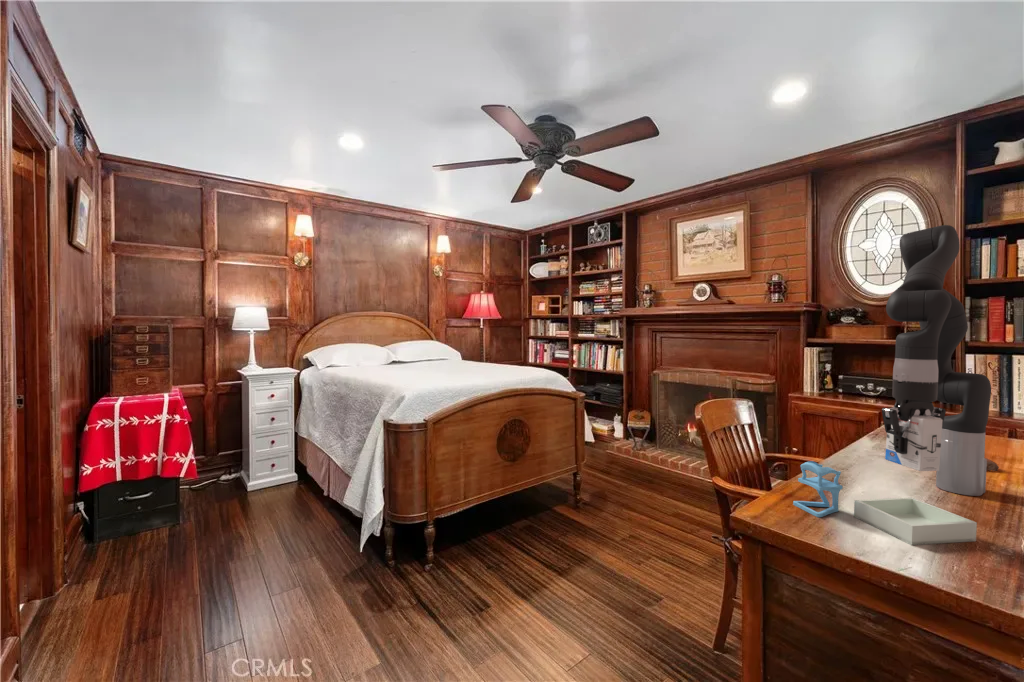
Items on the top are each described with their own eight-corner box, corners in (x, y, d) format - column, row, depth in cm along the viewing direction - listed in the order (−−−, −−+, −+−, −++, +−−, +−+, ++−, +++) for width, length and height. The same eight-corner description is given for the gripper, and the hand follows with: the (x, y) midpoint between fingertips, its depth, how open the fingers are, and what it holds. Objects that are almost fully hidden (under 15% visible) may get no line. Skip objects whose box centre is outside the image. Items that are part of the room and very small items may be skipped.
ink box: (883, 459, 103) (885, 410, 103) (903, 459, 103) (905, 410, 103) (920, 471, 94) (922, 418, 94) (941, 471, 95) (943, 418, 94)
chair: (847, 515, 106) (849, 466, 105) (818, 517, 104) (819, 468, 104) (820, 502, 113) (821, 457, 113) (792, 504, 112) (793, 458, 112)
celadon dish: (911, 513, 107) (911, 497, 107) (976, 541, 93) (976, 522, 93) (853, 516, 105) (854, 500, 105) (911, 545, 91) (912, 526, 91)
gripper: (925, 376, 103) (922, 447, 103) (870, 377, 101) (868, 448, 102) (961, 380, 95) (958, 457, 96) (902, 381, 94) (900, 458, 94)
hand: (912, 452), depth 99 cm, fingers closed on ink box, 5 cm apart
